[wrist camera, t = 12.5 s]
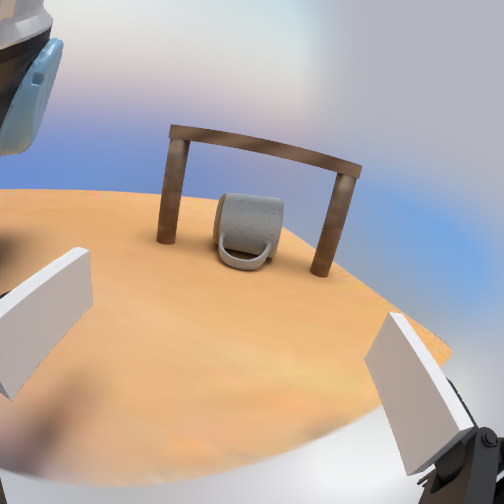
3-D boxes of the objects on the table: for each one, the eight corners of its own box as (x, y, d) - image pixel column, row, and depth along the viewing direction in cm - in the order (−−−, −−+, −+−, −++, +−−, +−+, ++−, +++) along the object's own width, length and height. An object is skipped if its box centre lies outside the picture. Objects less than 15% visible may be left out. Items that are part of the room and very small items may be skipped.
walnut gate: (153, 241, 32) (170, 124, 27) (160, 235, 35) (176, 126, 30) (329, 278, 33) (362, 165, 28) (325, 270, 36) (356, 164, 31)
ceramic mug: (215, 235, 40) (225, 183, 37) (270, 246, 40) (283, 195, 37) (203, 265, 30) (214, 197, 27) (276, 279, 30) (293, 213, 28)
